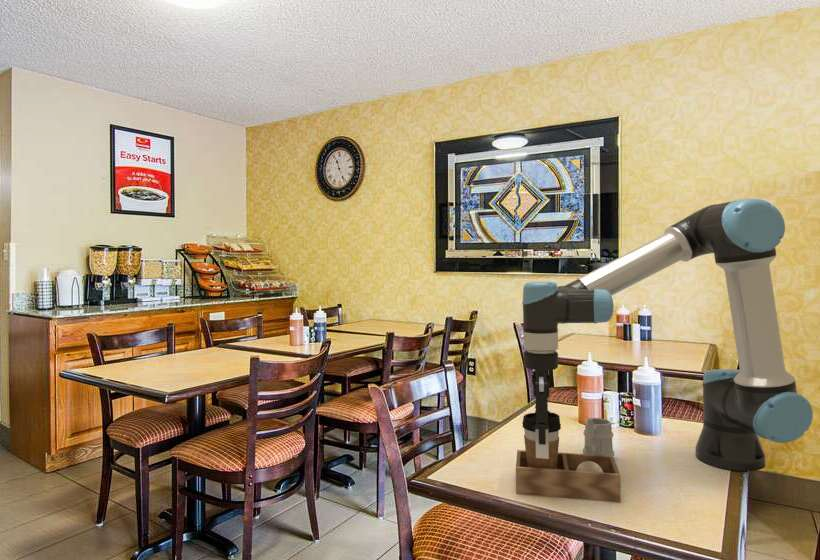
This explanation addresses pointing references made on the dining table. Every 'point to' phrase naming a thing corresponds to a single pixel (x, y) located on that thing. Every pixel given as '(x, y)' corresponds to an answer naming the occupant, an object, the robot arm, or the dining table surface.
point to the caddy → (570, 478)
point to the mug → (598, 437)
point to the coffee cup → (530, 441)
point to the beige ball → (589, 467)
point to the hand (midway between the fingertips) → (541, 450)
